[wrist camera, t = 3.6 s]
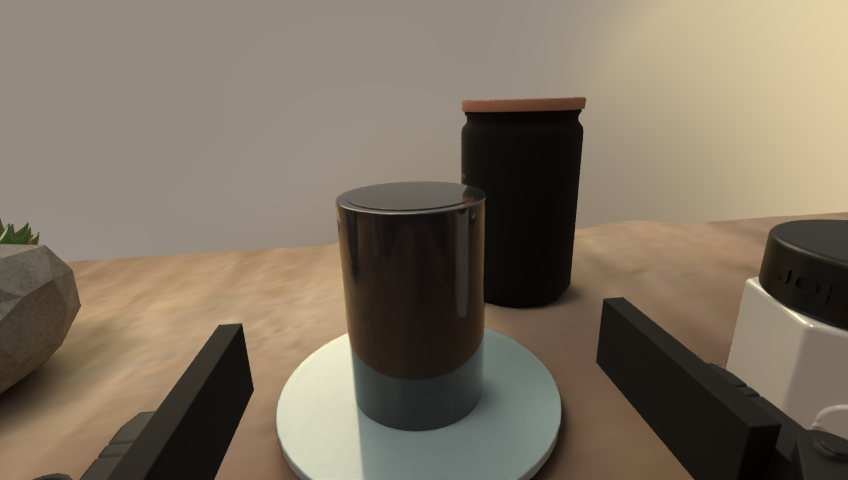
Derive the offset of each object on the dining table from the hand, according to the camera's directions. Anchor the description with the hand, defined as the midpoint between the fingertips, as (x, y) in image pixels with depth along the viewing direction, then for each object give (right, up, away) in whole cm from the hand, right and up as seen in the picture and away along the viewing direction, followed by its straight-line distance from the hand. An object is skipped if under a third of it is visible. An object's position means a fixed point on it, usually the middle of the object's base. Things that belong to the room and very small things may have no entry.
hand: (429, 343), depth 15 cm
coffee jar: (+9, -1, +27) cm, 29 cm away
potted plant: (-32, -7, +15) cm, 36 cm away
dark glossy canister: (-1, -5, +11) cm, 12 cm away
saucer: (0, -7, +11) cm, 13 cm away
